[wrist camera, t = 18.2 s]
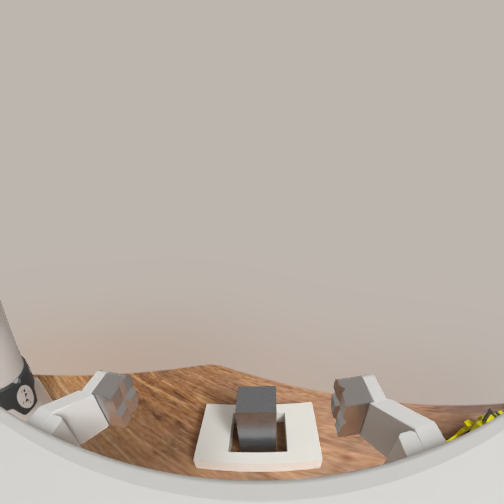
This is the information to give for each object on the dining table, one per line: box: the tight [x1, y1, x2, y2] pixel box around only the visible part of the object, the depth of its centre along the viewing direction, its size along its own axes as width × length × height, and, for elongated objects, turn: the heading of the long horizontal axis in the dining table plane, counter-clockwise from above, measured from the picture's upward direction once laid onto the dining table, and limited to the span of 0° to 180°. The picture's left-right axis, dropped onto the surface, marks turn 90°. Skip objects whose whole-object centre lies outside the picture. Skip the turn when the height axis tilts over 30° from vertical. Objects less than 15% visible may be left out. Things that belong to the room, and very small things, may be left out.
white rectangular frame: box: [193, 402, 322, 472], centre depth 33 cm, size 17×12×2 cm
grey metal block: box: [235, 386, 277, 452], centre depth 32 cm, size 5×5×10 cm
